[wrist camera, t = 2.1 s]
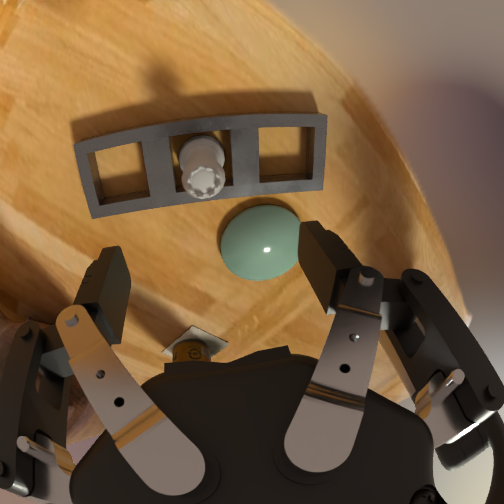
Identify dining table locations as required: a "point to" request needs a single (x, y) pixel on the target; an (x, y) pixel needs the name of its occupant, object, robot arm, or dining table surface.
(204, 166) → the rook chess piece
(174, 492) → the robot arm
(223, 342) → the condiment
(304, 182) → the grey compartment tray
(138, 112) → the dining table surface
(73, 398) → the jug
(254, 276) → the green dome
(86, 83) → the dining table surface
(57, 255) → the dining table surface
